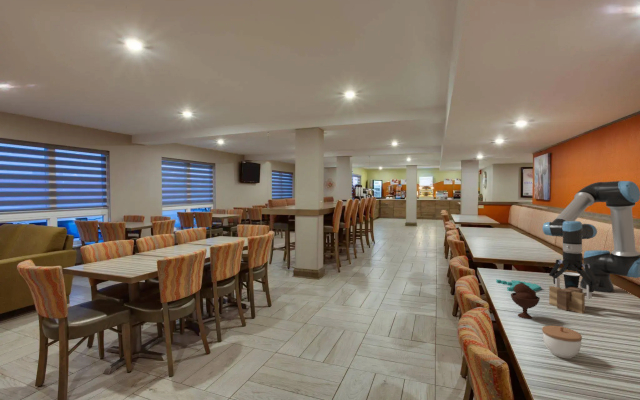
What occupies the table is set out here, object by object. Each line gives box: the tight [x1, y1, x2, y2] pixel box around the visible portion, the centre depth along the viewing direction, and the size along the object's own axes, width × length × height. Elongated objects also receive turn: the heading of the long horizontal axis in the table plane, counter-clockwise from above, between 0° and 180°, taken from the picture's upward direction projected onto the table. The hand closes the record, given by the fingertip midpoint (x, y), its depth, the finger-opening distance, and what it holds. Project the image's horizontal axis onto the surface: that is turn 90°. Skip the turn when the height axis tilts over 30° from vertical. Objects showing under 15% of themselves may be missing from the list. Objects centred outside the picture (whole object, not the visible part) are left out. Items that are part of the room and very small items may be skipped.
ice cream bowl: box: [510, 284, 540, 320], centre depth 140 cm, size 11×11×15 cm
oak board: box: [548, 285, 586, 314], centre depth 151 cm, size 2×14×9 cm, turn 24°
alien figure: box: [495, 279, 542, 293], centre depth 188 cm, size 20×2×20 cm
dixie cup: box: [562, 271, 581, 289], centre depth 177 cm, size 8×8×11 cm
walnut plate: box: [556, 287, 584, 312], centre depth 152 cm, size 14×4×9 cm, turn 114°
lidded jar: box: [541, 325, 583, 360], centre depth 106 cm, size 11×11×9 cm
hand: (572, 294), depth 153 cm, fingers open, 13 cm apart
